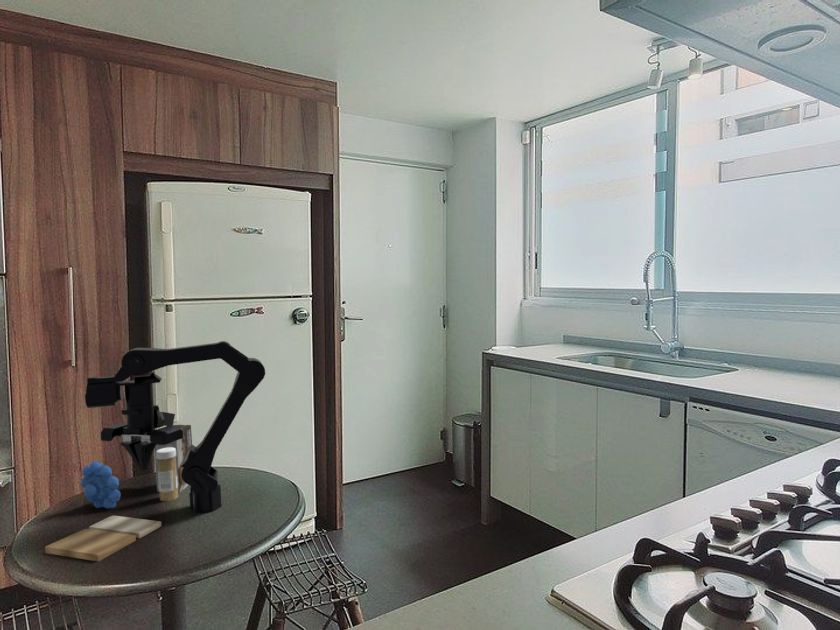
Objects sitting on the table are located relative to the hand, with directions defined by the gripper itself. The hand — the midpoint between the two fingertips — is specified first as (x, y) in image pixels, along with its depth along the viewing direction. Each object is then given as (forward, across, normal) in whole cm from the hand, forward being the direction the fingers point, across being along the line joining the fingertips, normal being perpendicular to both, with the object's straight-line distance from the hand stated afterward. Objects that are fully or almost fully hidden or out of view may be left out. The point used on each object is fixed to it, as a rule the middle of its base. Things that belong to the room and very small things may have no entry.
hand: (144, 470), depth 125 cm
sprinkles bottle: (+12, +4, -11) cm, 17 cm away
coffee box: (+12, +10, -20) cm, 25 cm away
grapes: (+12, +17, -2) cm, 21 cm away
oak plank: (+12, 0, +15) cm, 19 cm away
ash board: (+12, 0, +6) cm, 13 cm away
